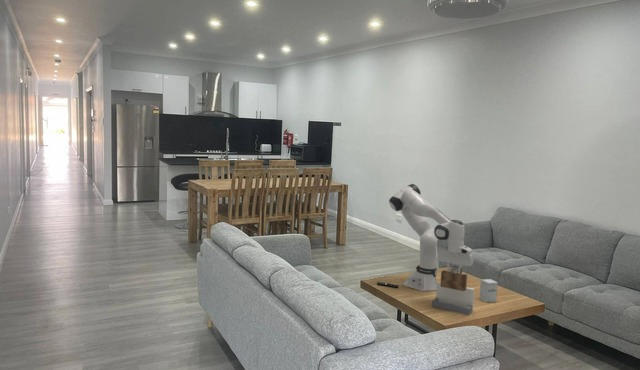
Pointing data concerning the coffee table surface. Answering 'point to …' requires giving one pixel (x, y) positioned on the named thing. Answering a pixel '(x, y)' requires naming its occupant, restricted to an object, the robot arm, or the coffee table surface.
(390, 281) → the coffee table surface
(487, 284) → the supplement box
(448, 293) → the board
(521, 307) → the coffee table surface
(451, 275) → the walnut panel
